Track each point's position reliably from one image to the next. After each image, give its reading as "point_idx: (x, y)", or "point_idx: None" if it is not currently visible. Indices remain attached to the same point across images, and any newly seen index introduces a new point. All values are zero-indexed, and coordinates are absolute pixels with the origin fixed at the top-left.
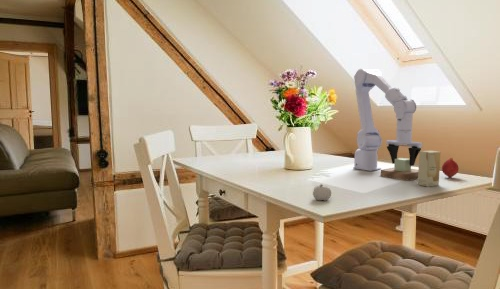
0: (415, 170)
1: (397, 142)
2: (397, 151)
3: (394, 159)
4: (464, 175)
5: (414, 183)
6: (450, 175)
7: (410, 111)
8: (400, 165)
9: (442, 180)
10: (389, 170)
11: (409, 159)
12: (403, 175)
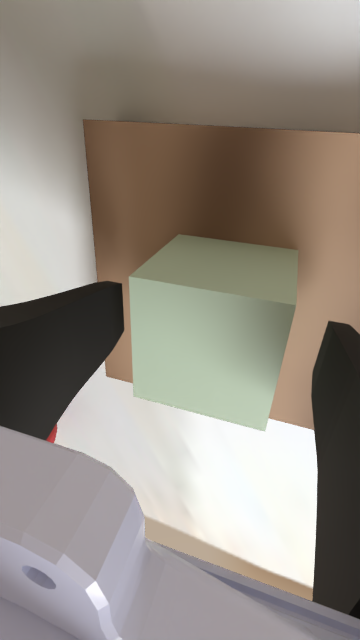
0: None
1: (3, 495)
2: (318, 517)
3: (328, 364)
4: None
5: (16, 29)
6: None
7: None
8: (212, 259)
9: (13, 303)
10: (337, 184)
11: (135, 371)
12: (143, 122)
